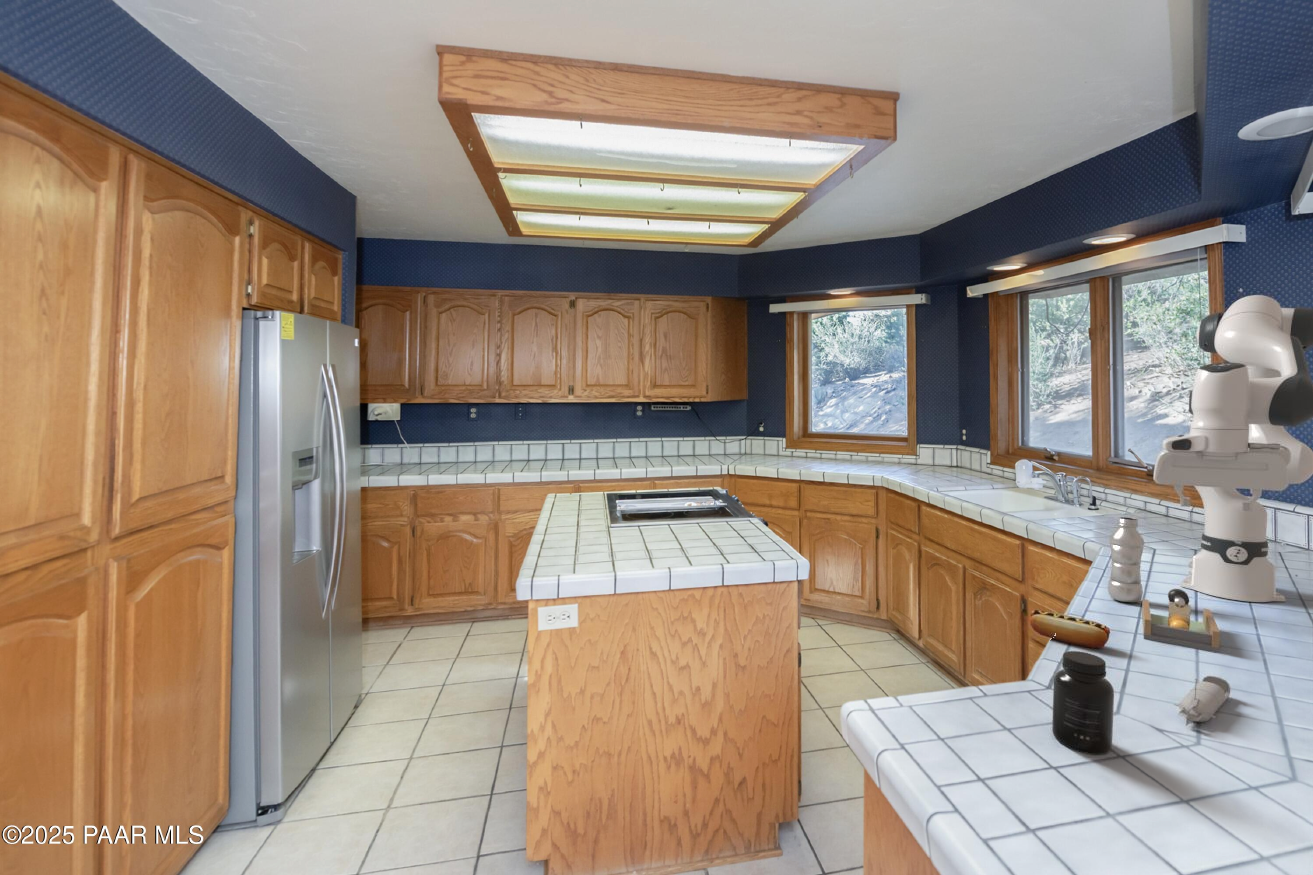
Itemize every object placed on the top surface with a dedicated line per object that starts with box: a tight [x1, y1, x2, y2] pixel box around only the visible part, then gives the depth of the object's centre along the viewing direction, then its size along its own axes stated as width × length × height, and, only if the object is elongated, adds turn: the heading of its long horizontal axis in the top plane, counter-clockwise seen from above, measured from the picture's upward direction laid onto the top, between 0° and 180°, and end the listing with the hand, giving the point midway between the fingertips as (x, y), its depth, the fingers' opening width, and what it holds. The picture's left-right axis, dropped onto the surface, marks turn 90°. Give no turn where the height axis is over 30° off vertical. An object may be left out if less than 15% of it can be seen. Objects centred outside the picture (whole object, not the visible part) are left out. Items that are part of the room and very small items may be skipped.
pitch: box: [1141, 598, 1221, 654], centre depth 123 cm, size 16×11×4 cm
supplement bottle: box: [1051, 650, 1115, 755], centre depth 83 cm, size 7×7×12 cm
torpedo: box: [1173, 675, 1231, 727], centre depth 92 cm, size 18×5×7 cm, turn 126°
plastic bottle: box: [1107, 516, 1145, 603], centre depth 142 cm, size 6×7×20 cm
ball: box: [1170, 620, 1190, 630], centre depth 119 cm, size 3×3×3 cm
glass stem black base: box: [1167, 588, 1192, 628], centre depth 122 cm, size 6×3×7 cm, turn 142°
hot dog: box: [1029, 609, 1111, 649], centre depth 118 cm, size 5×13×5 cm, turn 43°
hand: (1215, 508), depth 124 cm, fingers open, 8 cm apart
